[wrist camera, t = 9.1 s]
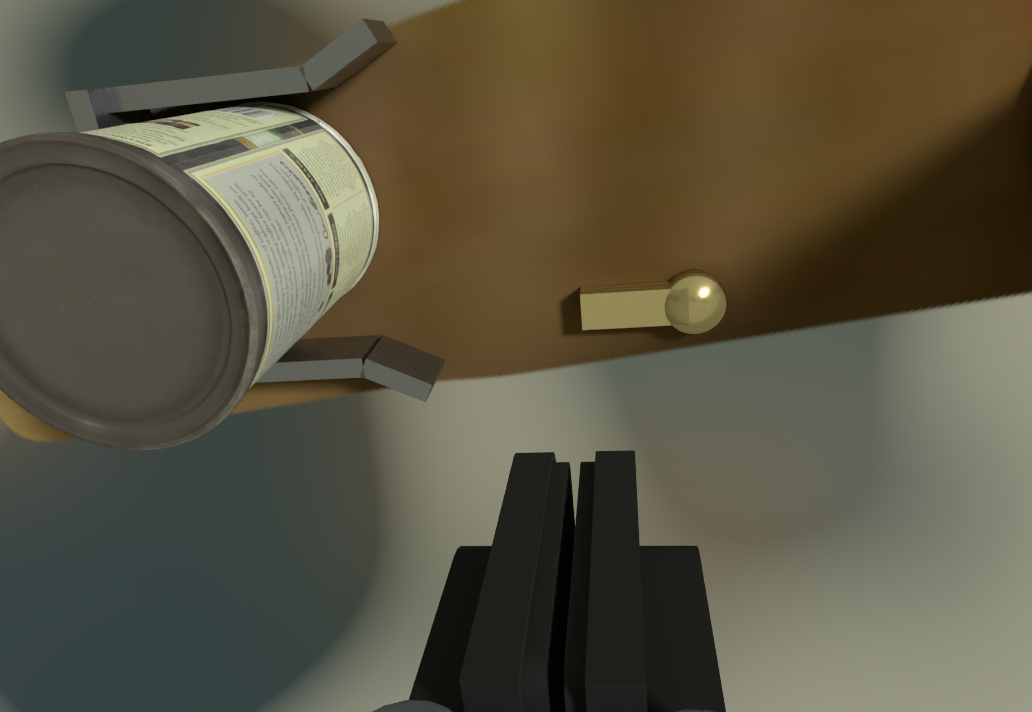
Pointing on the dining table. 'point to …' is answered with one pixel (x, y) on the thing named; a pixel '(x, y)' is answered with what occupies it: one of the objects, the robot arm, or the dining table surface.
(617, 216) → the dining table surface
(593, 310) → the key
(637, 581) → the robot arm
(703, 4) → the dining table surface
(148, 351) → the coffee can
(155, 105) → the bracket
